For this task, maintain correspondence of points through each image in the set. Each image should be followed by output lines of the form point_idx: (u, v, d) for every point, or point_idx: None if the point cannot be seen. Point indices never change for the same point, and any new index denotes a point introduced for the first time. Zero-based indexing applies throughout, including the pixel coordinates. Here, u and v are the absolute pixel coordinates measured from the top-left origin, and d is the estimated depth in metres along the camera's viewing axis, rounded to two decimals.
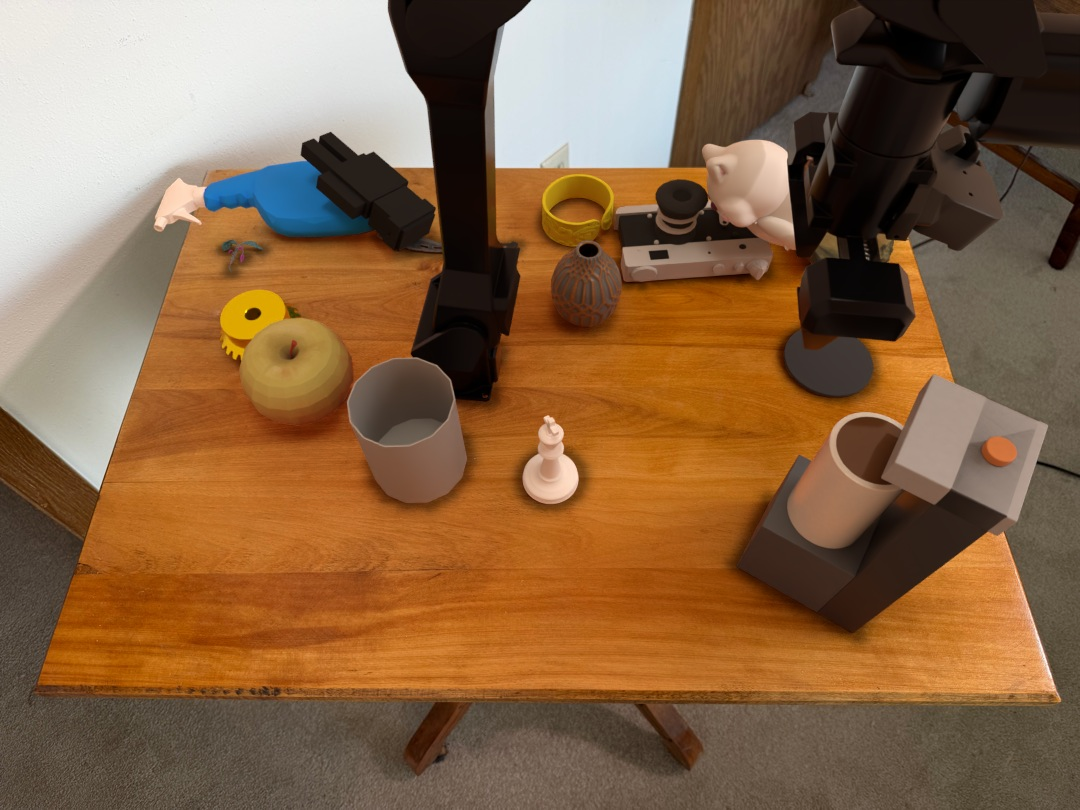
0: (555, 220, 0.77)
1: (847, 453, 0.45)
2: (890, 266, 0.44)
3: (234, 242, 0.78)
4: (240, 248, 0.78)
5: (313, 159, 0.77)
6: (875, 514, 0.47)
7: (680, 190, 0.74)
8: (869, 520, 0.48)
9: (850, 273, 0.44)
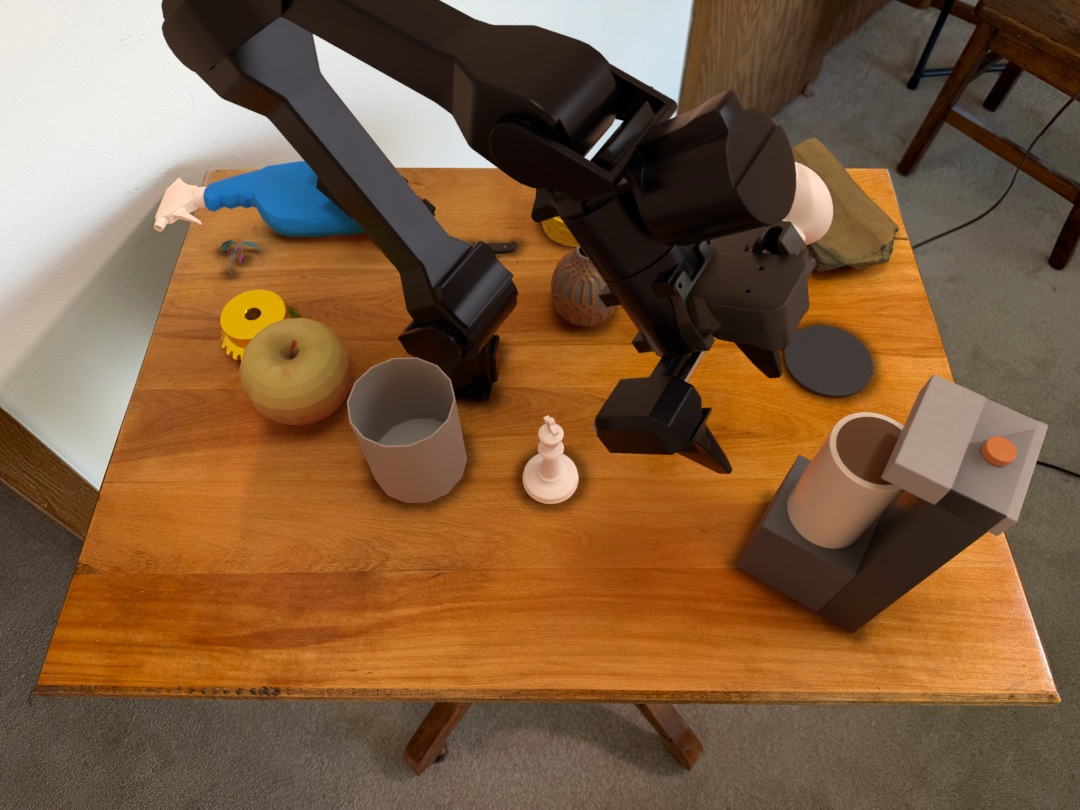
0: (555, 220, 0.77)
1: (847, 453, 0.45)
2: (664, 379, 0.44)
3: (233, 242, 0.78)
4: (239, 248, 0.77)
5: None
6: (875, 514, 0.47)
7: None
8: (869, 520, 0.48)
9: (627, 391, 0.45)
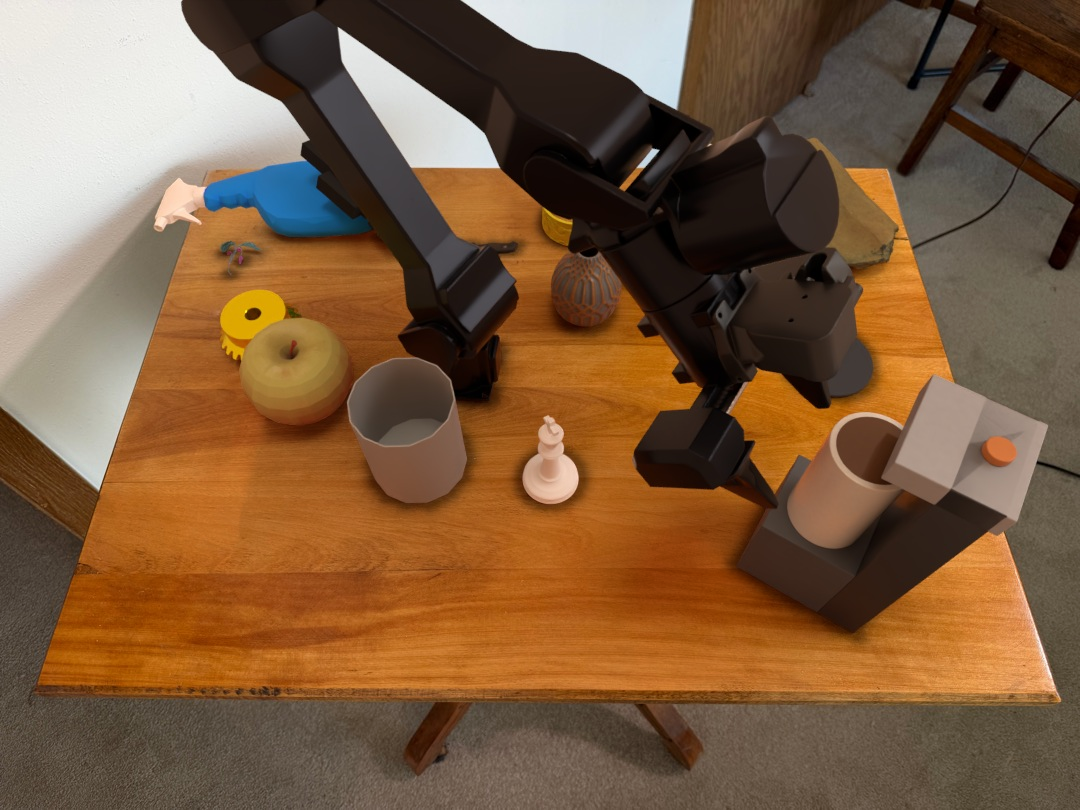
0: (555, 220, 0.77)
1: (847, 453, 0.45)
2: (704, 411, 0.42)
3: (232, 243, 0.78)
4: (238, 249, 0.77)
5: (313, 159, 0.77)
6: (875, 514, 0.47)
7: None
8: (869, 520, 0.48)
9: (667, 423, 0.44)
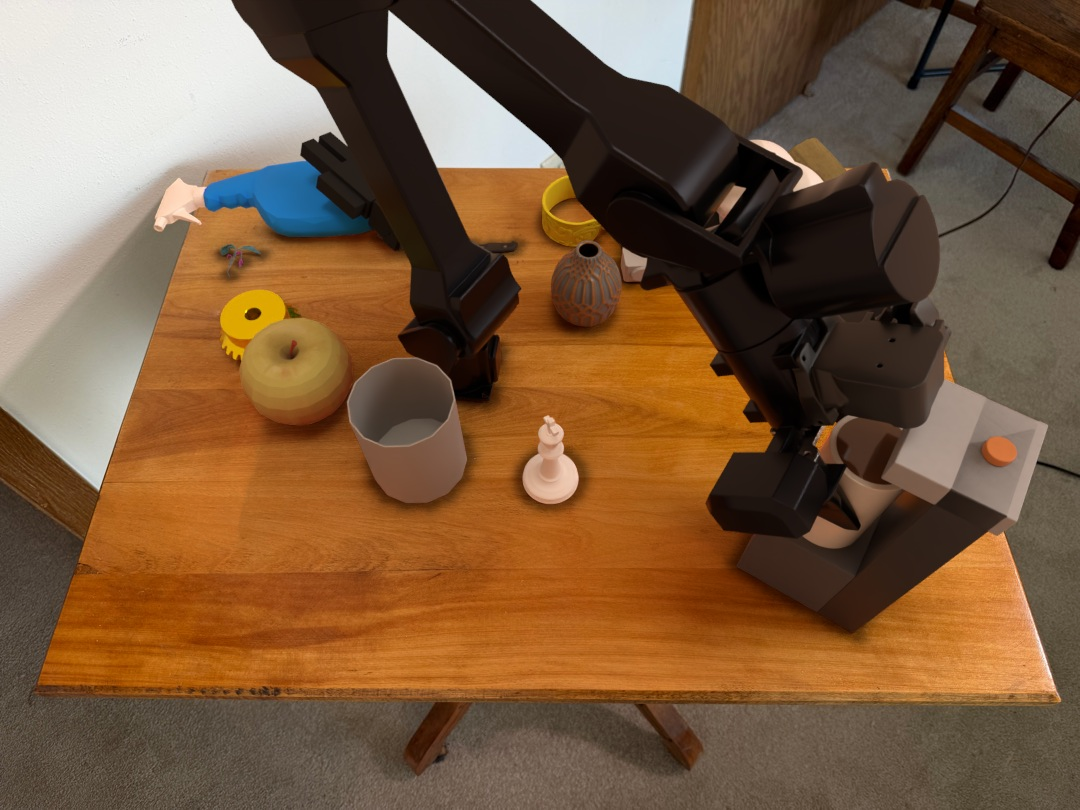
0: (555, 220, 0.77)
1: (847, 453, 0.45)
2: (785, 456, 0.41)
3: (232, 247, 0.78)
4: (238, 253, 0.77)
5: (313, 159, 0.77)
6: (875, 514, 0.47)
7: None
8: (869, 520, 0.48)
9: (744, 466, 0.43)
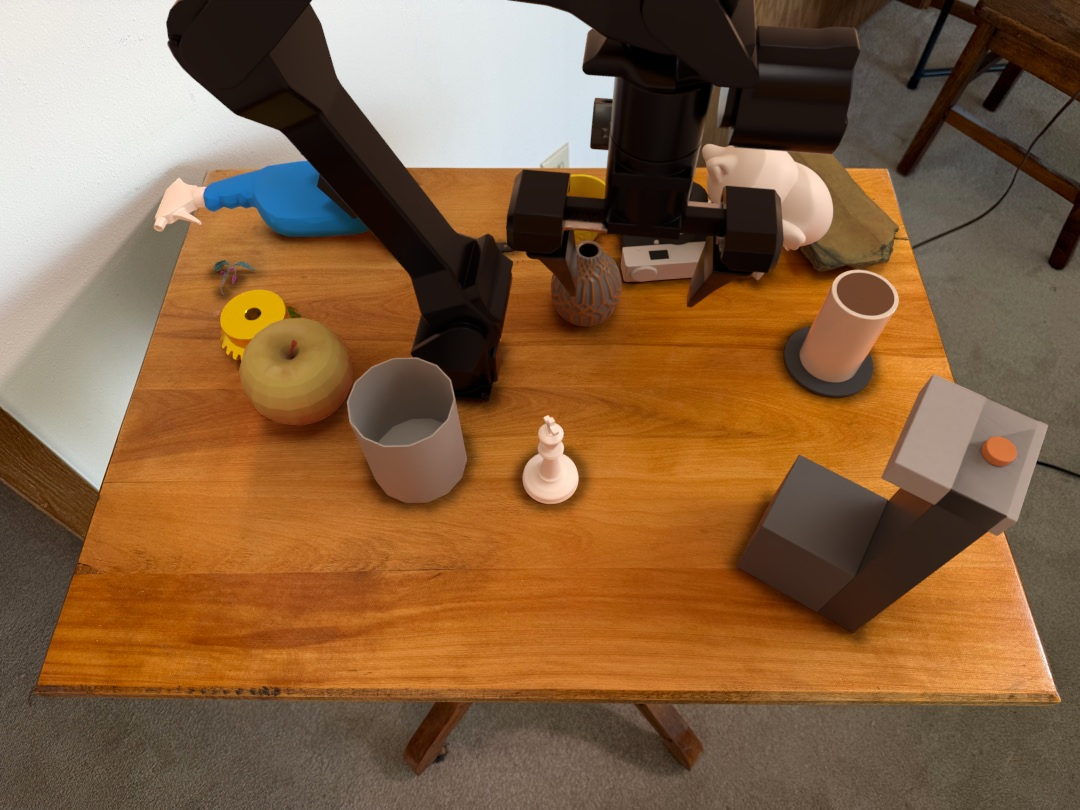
0: None
1: (852, 305, 0.62)
2: (730, 191, 0.50)
3: (226, 263, 0.76)
4: (232, 269, 0.76)
5: None
6: (878, 336, 0.65)
7: None
8: (874, 343, 0.65)
9: (743, 217, 0.49)
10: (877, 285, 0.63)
